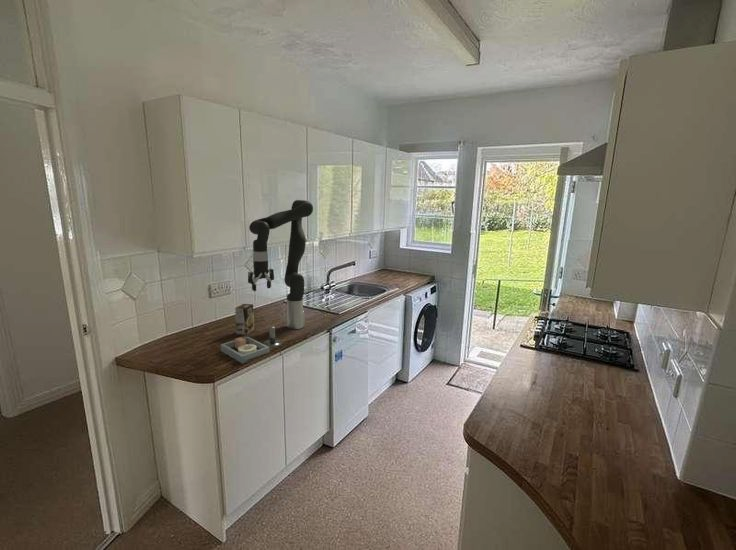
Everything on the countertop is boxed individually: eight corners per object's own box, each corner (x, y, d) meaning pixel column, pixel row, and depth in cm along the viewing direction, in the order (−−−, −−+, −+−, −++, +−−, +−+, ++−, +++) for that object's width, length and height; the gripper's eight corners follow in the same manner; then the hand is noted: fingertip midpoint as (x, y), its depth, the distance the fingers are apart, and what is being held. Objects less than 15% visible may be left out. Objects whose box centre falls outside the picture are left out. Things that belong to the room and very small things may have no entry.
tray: (248, 342, 192) (247, 336, 191) (269, 353, 179) (269, 347, 178) (221, 351, 181) (220, 344, 180) (242, 363, 168) (241, 356, 167)
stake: (275, 339, 197) (274, 322, 195) (286, 344, 190) (285, 326, 188) (259, 344, 189) (258, 326, 187) (270, 350, 183) (269, 331, 181)
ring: (245, 344, 187) (245, 335, 186) (260, 352, 179) (259, 342, 178) (230, 349, 181) (229, 340, 180) (244, 357, 172) (243, 347, 171)
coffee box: (246, 336, 200) (245, 308, 197) (236, 335, 201) (234, 307, 198) (254, 330, 209) (253, 304, 205) (244, 329, 210) (243, 303, 207)
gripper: (268, 257, 195) (269, 286, 199) (244, 260, 185) (245, 290, 188) (276, 259, 191) (277, 288, 194) (252, 262, 180) (253, 293, 183)
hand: (261, 289), depth 191 cm, fingers open, 8 cm apart
